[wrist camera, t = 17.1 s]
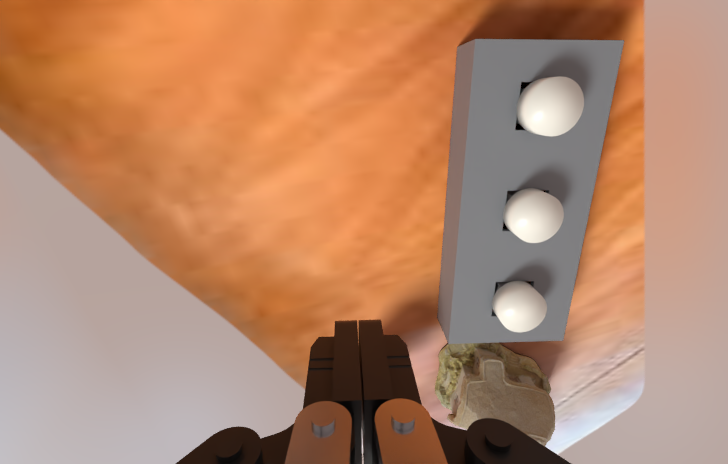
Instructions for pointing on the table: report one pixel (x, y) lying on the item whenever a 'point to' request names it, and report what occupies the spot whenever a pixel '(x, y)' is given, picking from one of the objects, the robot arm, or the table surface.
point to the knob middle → (532, 214)
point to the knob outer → (518, 306)
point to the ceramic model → (495, 388)
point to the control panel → (517, 181)
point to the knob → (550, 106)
